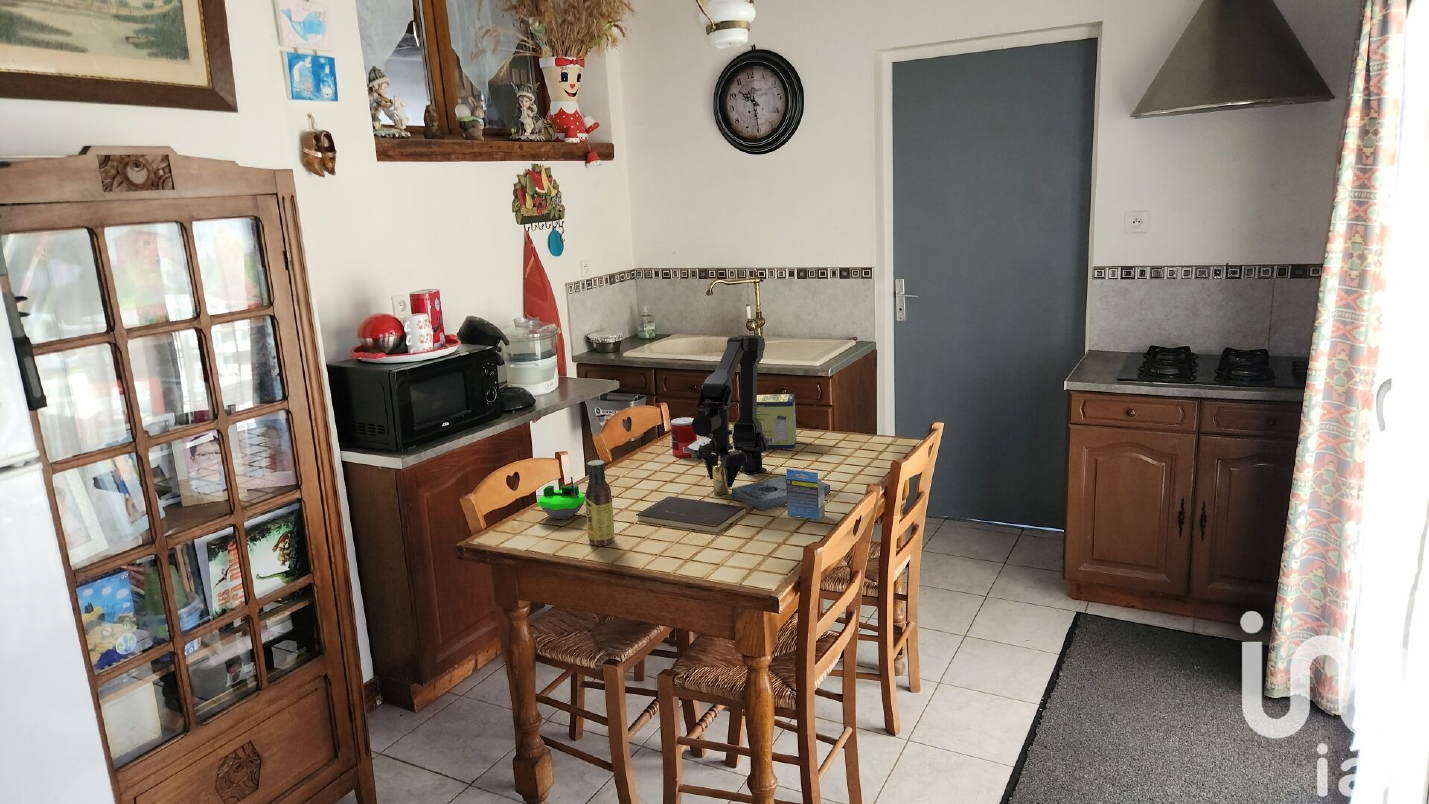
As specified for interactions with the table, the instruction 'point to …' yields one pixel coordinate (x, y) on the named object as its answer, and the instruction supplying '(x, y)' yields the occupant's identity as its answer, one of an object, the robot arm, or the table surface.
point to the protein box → (777, 420)
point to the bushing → (719, 481)
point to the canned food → (682, 436)
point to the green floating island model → (561, 501)
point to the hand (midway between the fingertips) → (720, 483)
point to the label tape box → (804, 495)
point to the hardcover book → (692, 513)
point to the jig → (767, 493)
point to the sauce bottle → (599, 506)
